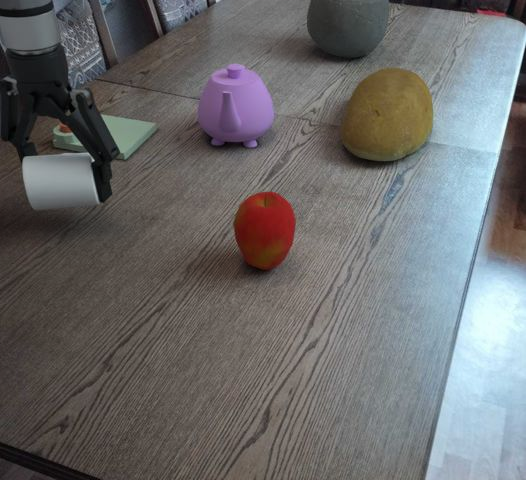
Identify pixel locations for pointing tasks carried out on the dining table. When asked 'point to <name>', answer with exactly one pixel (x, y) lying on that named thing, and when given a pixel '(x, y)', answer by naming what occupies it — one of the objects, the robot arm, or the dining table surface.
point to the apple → (265, 229)
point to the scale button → (64, 128)
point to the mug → (60, 181)
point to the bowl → (347, 25)
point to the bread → (388, 115)
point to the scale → (122, 130)
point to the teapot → (235, 106)
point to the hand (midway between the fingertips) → (71, 191)
